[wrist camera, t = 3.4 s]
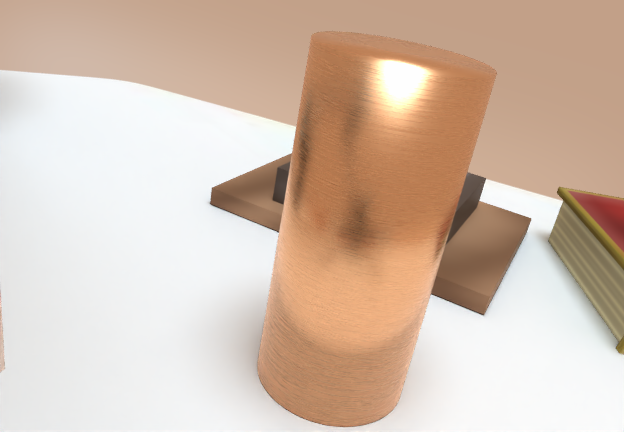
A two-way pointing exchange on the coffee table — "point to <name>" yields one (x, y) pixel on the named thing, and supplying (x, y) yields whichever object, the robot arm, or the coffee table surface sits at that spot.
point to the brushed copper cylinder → (366, 220)
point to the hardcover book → (594, 251)
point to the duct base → (458, 250)
